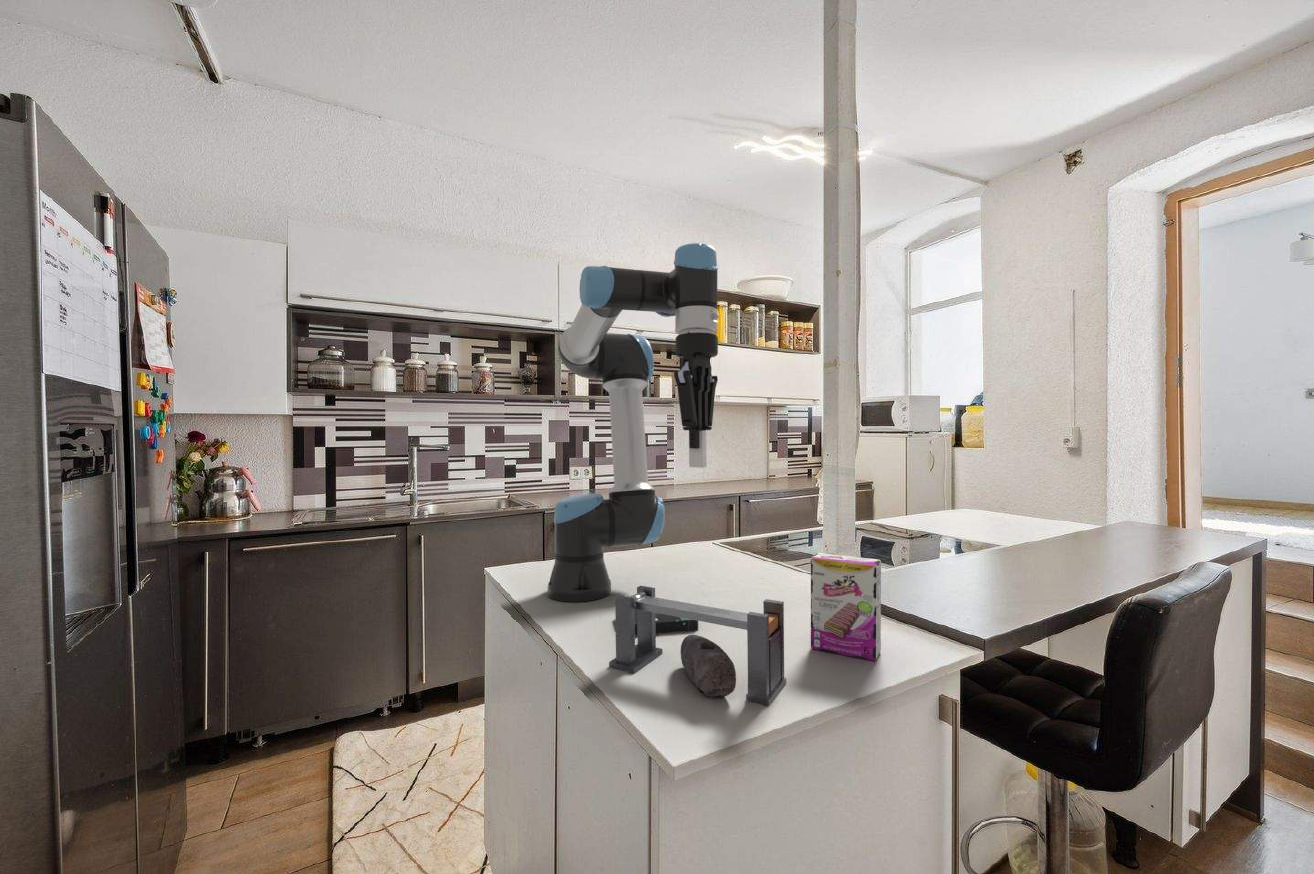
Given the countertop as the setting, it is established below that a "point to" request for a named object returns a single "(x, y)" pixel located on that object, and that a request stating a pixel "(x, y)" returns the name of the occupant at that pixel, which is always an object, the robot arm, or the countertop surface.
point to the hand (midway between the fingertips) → (697, 466)
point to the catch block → (765, 654)
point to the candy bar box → (846, 605)
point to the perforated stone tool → (708, 666)
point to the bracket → (626, 650)
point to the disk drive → (671, 623)
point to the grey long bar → (697, 612)
